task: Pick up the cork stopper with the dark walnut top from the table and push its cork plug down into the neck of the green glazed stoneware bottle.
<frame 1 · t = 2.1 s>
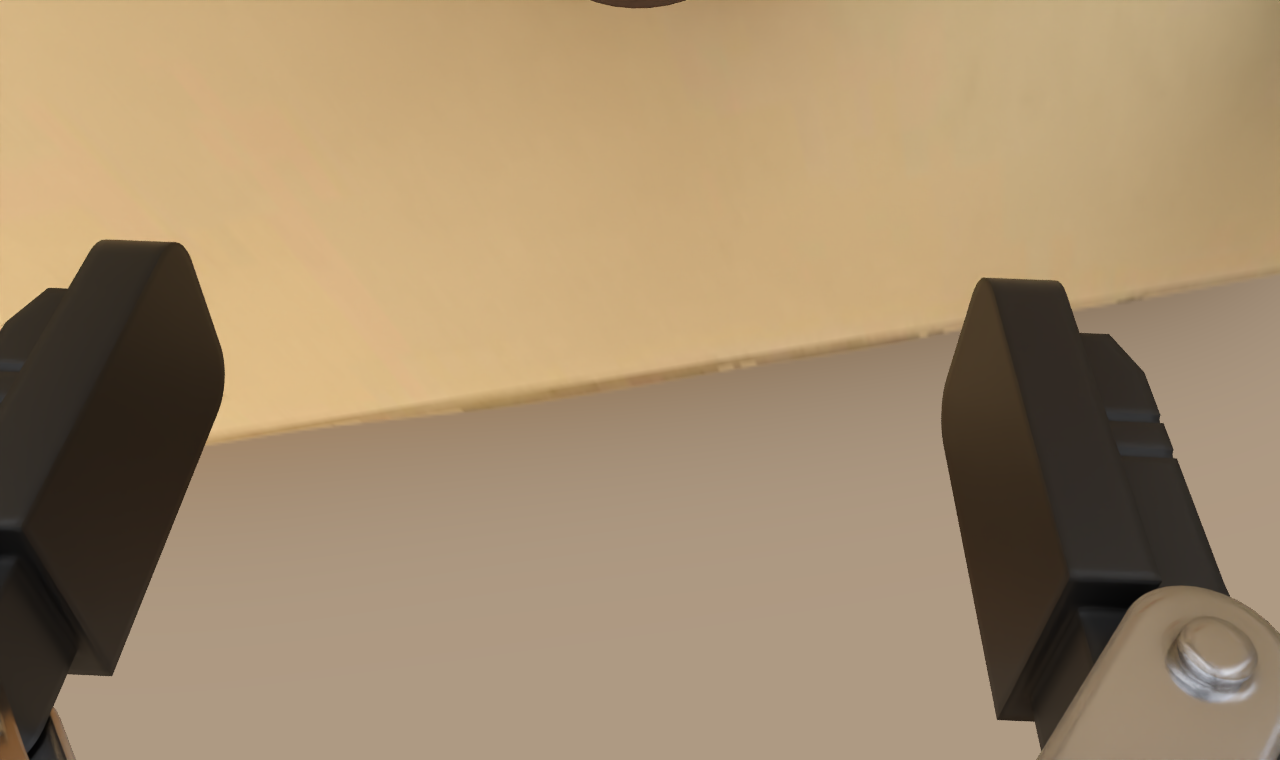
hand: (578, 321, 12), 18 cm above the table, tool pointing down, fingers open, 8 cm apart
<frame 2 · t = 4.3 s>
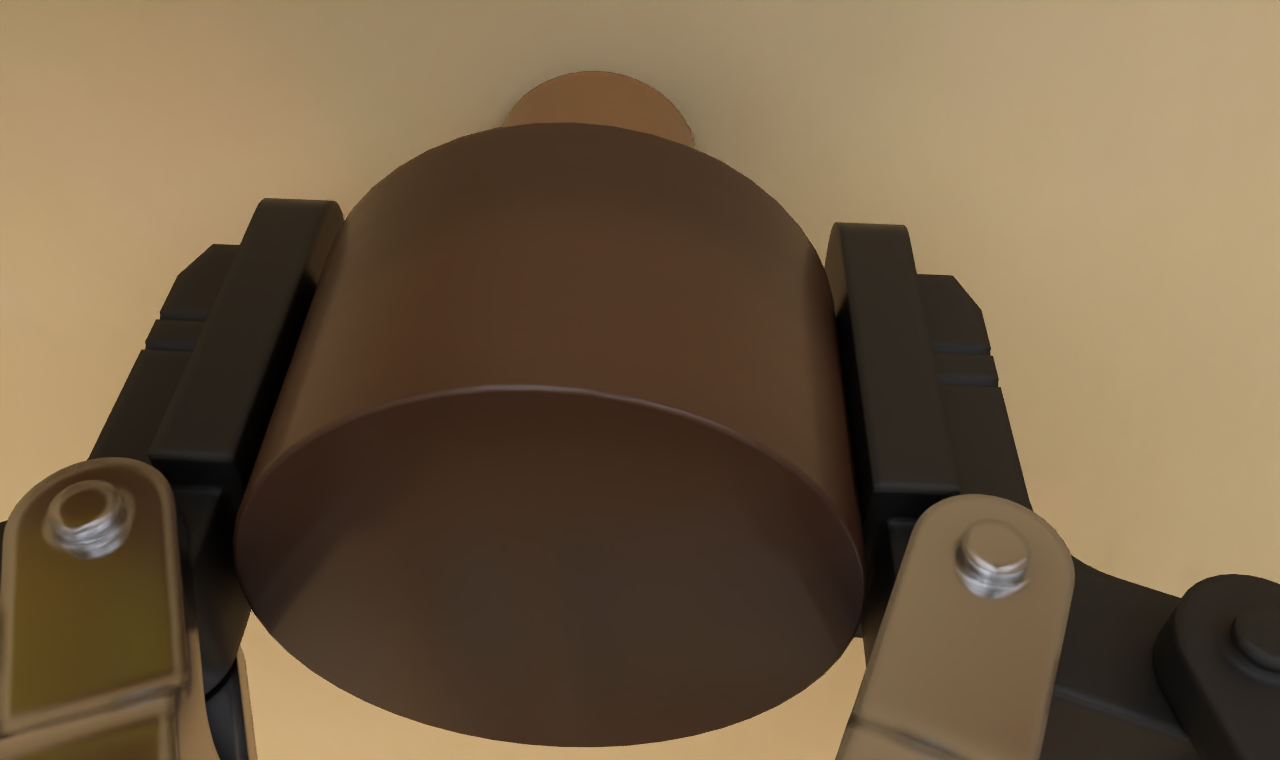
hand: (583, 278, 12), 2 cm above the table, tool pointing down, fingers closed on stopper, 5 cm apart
stopper: (597, 155, 14), on the table, touching gripper
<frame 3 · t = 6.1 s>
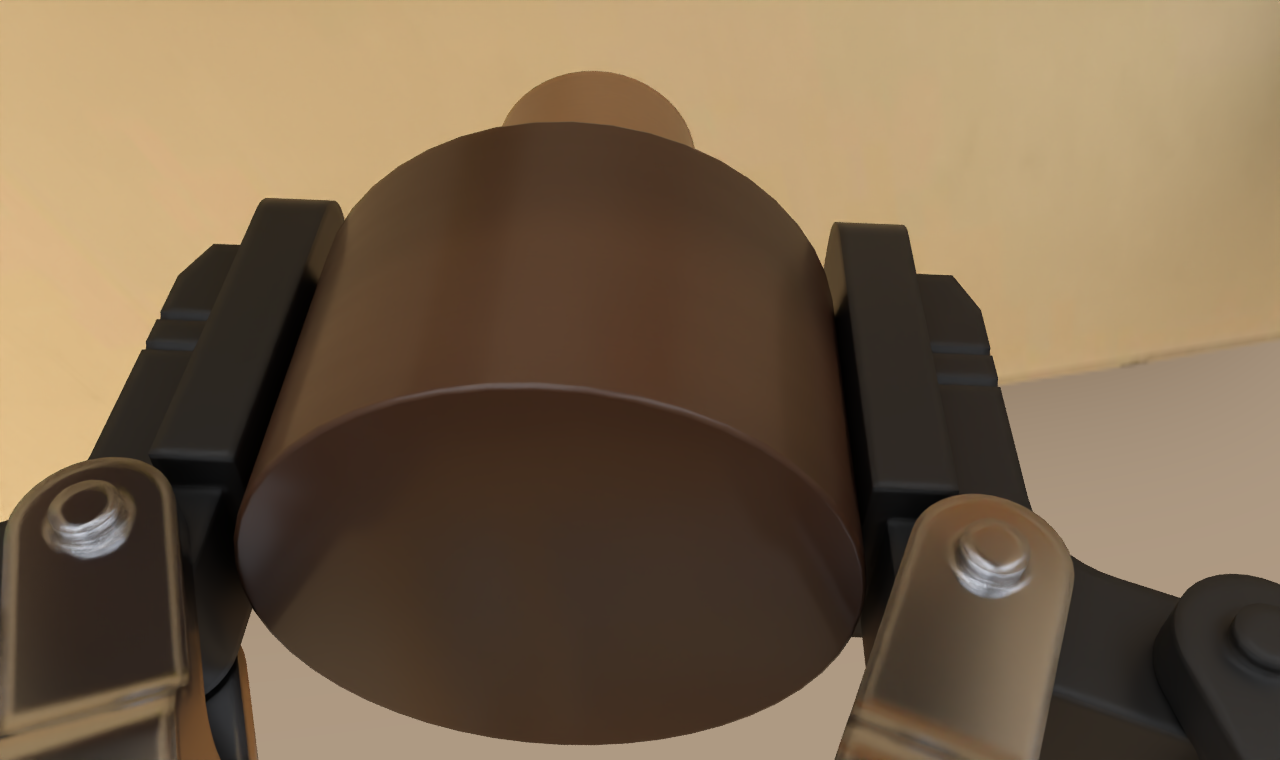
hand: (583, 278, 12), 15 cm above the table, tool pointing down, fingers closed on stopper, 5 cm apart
stopper: (597, 155, 14), point 12 cm above the table, touching gripper
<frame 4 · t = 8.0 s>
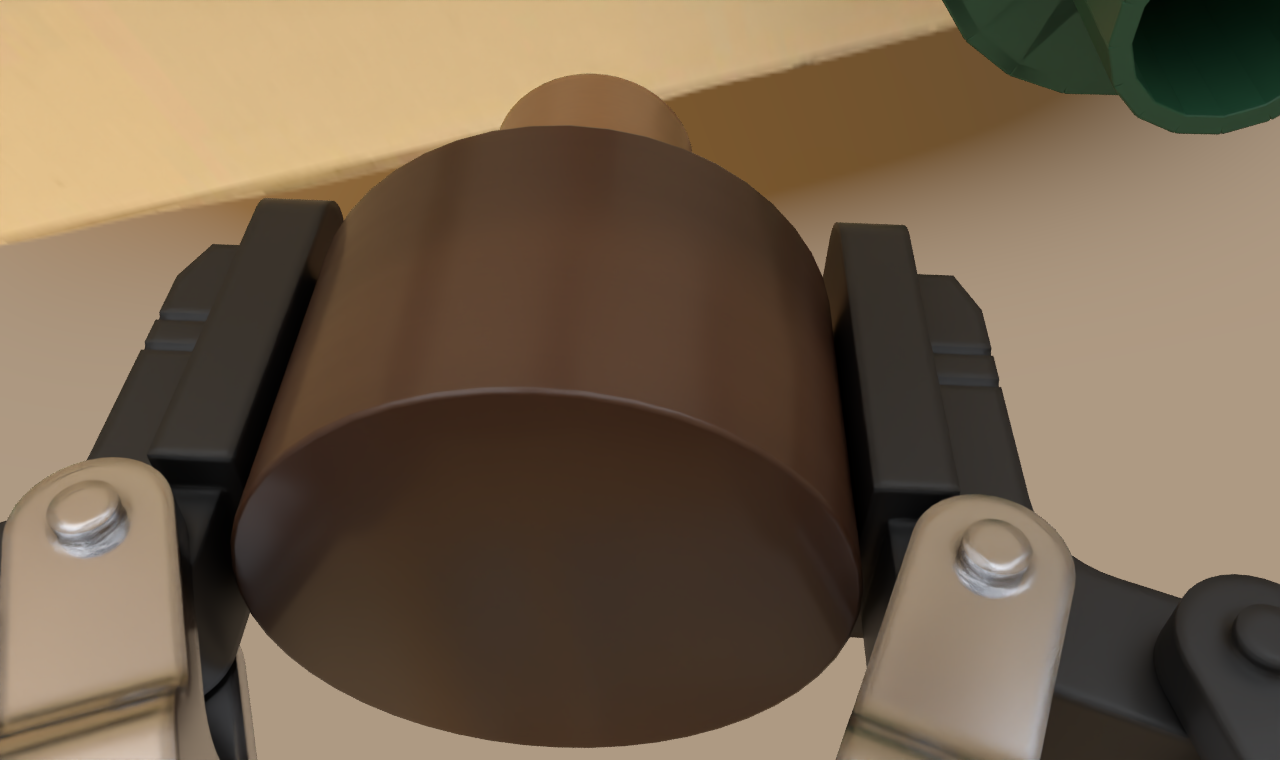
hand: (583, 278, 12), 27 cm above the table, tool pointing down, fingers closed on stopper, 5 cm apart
stopper: (594, 157, 14), point 25 cm above the table, touching gripper
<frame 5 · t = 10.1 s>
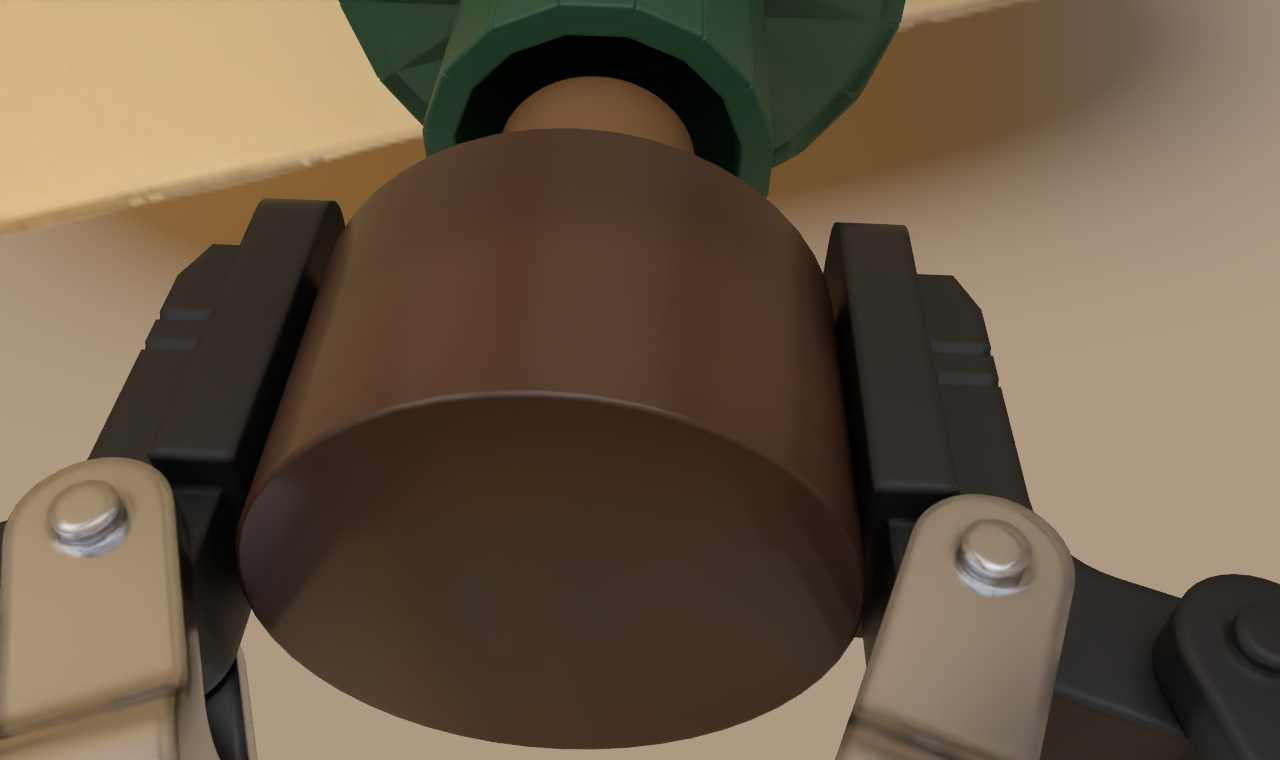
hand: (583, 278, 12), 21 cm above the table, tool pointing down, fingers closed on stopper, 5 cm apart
stopper: (597, 159, 14), point 19 cm above the table, touching gripper
when the fingers open (18 cm above the table, at t = 11.7 s): stopper stays where it is, resting on bottle.
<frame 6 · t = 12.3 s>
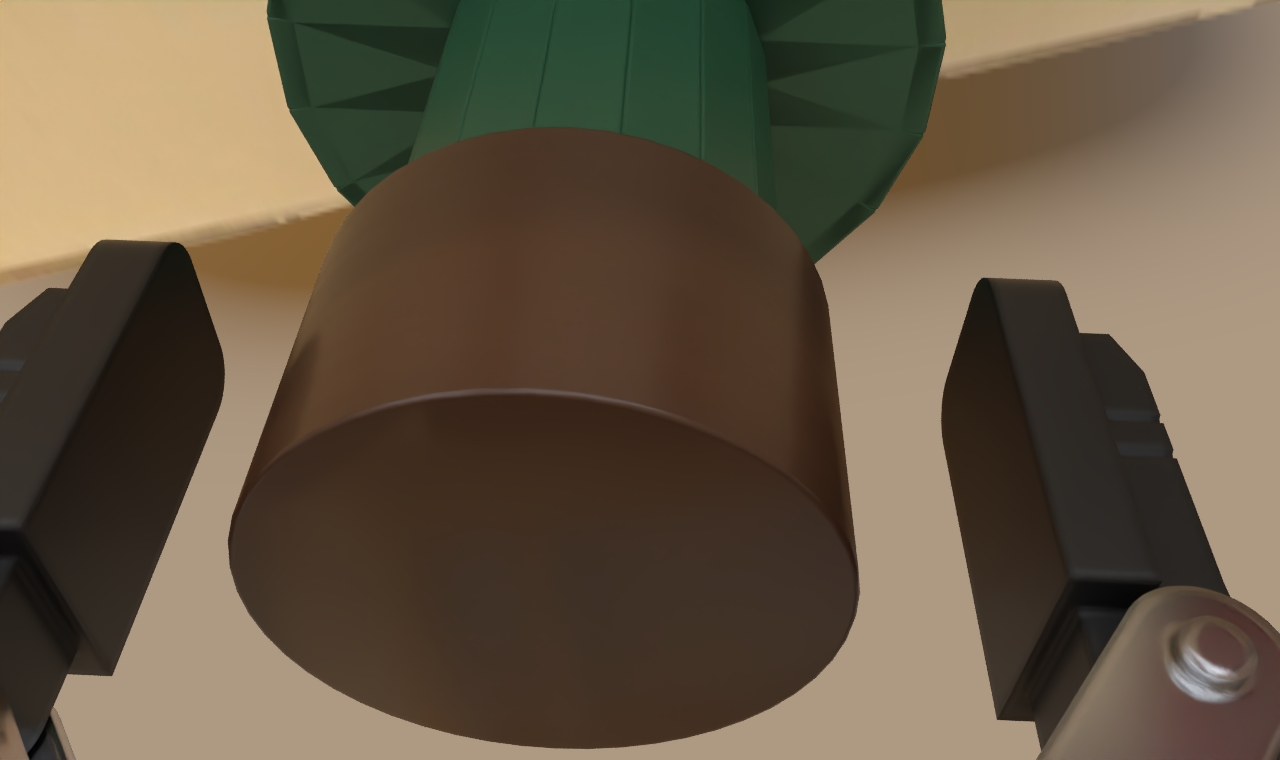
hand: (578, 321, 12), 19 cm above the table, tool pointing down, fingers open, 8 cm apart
stopper: (595, 159, 14), point 16 cm above the table, touching bottle
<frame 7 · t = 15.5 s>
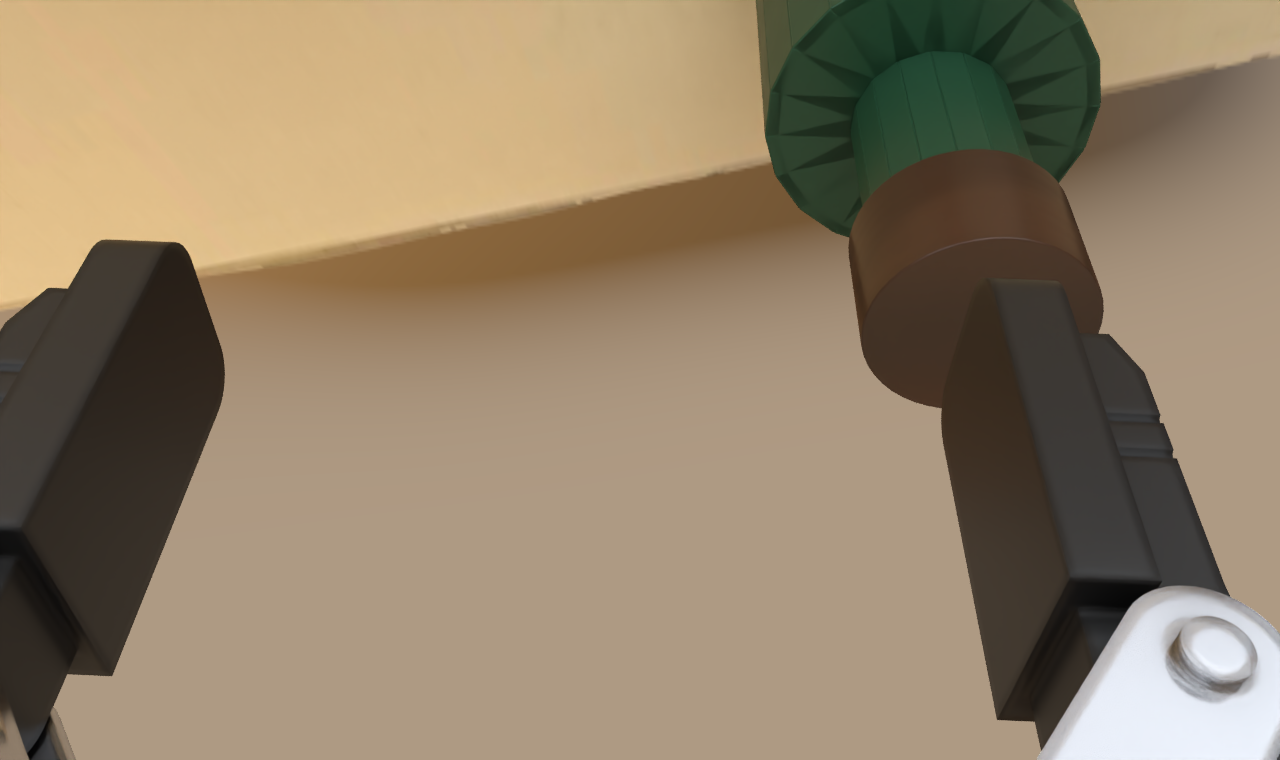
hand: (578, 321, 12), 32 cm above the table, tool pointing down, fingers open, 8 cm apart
stopper: (938, 161, 30), point 16 cm above the table, touching bottle
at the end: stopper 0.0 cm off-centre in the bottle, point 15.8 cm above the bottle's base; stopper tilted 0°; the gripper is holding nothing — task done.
